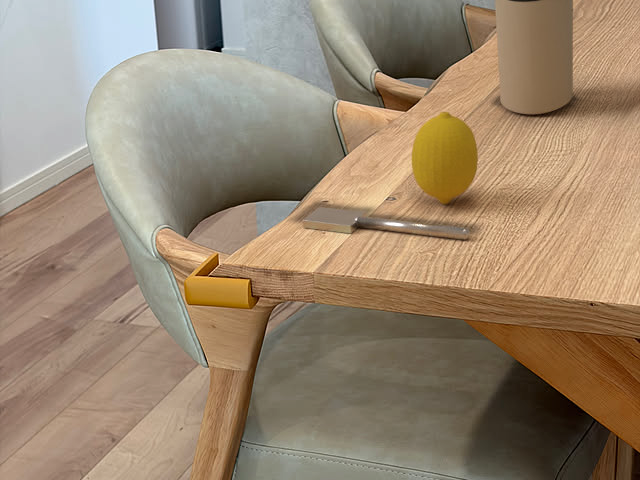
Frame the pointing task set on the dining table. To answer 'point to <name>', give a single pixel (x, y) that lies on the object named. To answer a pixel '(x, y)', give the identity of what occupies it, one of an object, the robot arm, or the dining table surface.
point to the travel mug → (535, 54)
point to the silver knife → (375, 224)
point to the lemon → (444, 157)
